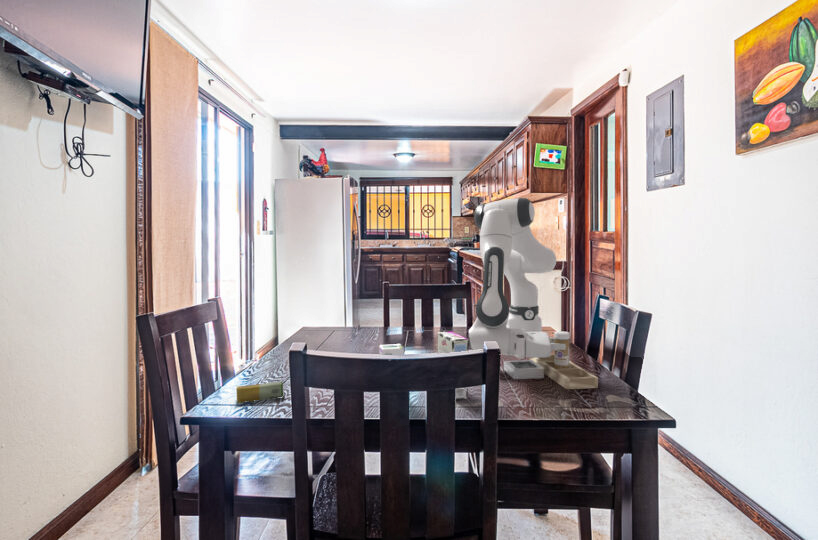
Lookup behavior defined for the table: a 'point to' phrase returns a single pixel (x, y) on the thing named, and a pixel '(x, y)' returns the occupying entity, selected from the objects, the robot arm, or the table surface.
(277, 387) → the medication box
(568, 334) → the sprinkles bottle
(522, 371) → the socket block
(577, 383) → the wooden compartment tray
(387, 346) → the syrup box
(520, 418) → the table surface
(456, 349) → the candy bar box
